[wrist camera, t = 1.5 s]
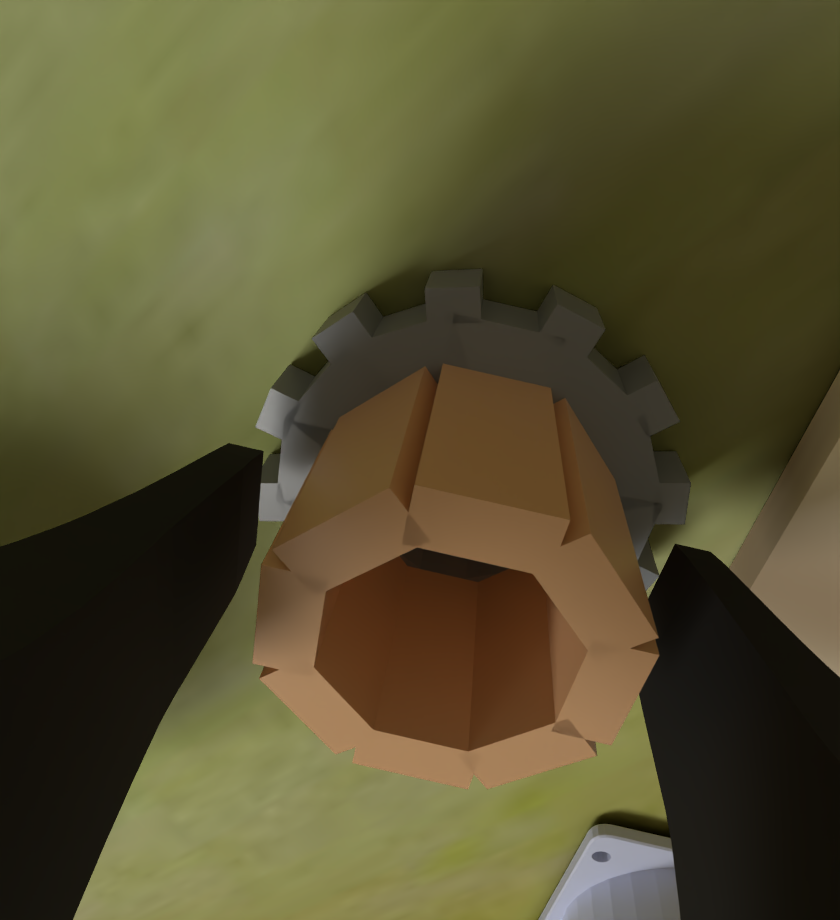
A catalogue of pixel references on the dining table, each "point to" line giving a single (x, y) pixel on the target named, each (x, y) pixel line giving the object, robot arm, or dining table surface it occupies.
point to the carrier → (802, 539)
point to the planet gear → (464, 535)
